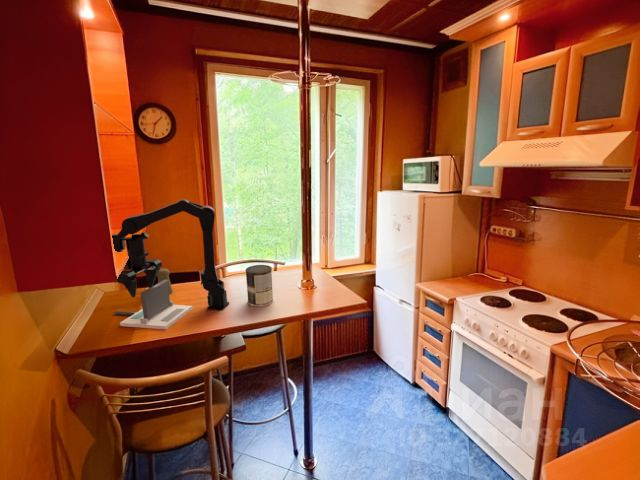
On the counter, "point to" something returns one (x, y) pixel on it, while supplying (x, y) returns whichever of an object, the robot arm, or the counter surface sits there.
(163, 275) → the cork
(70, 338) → the counter surface
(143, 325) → the switch plate
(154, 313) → the lever
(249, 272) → the coffee can
